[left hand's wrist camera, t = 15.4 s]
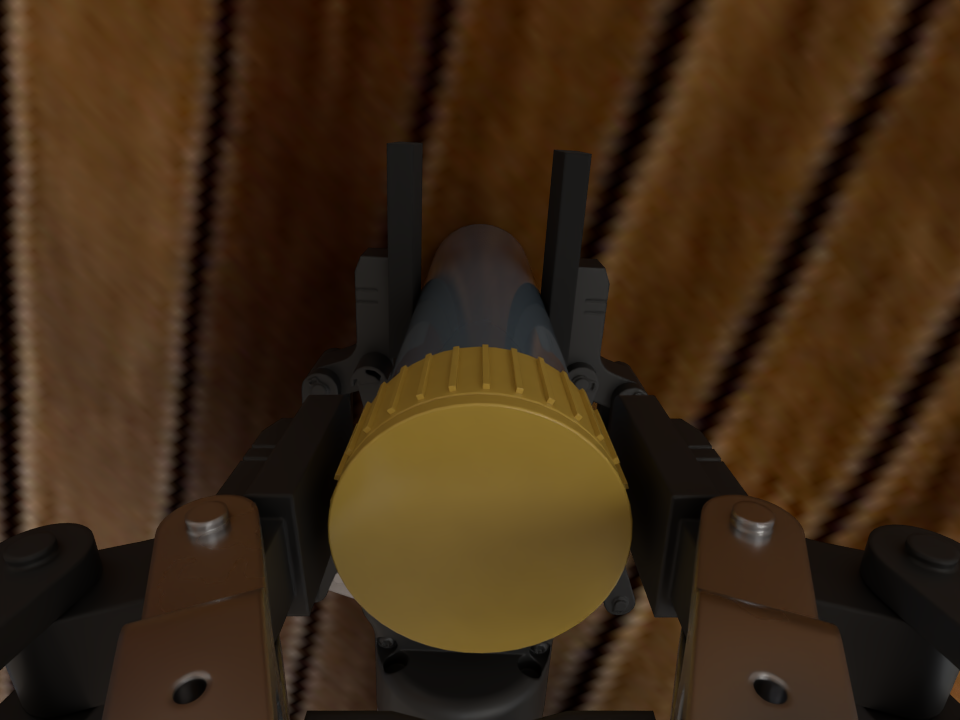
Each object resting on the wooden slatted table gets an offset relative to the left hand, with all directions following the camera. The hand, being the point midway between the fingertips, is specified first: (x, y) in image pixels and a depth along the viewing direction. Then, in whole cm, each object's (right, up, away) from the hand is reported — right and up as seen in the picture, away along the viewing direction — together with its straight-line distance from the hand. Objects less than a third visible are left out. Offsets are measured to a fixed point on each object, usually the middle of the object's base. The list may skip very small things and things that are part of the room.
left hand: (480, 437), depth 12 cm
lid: (0, -1, -3) cm, 3 cm away
